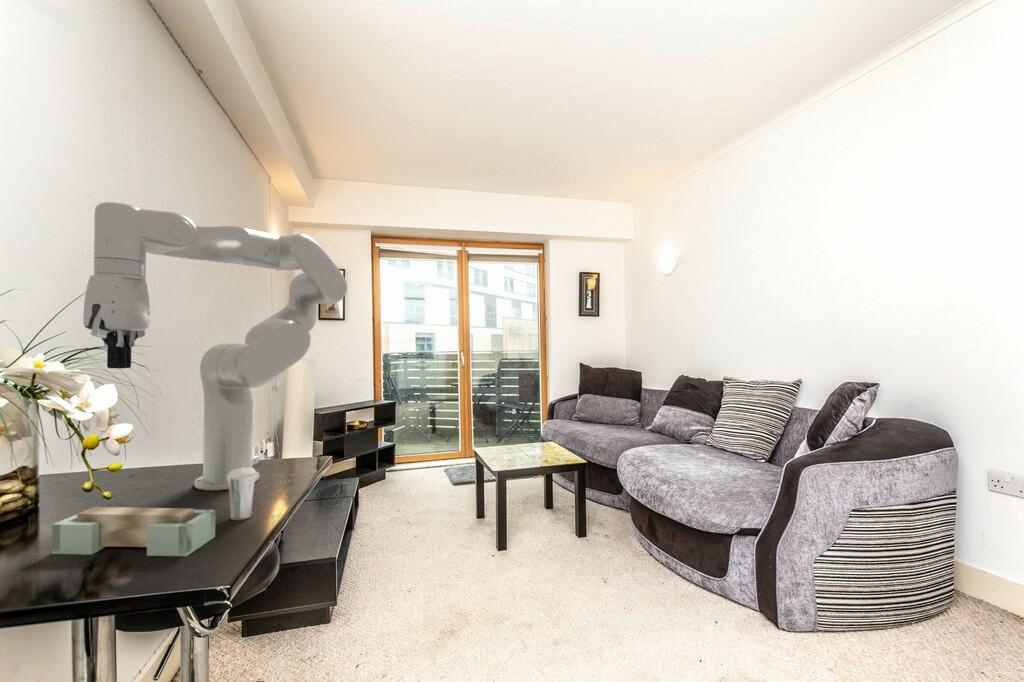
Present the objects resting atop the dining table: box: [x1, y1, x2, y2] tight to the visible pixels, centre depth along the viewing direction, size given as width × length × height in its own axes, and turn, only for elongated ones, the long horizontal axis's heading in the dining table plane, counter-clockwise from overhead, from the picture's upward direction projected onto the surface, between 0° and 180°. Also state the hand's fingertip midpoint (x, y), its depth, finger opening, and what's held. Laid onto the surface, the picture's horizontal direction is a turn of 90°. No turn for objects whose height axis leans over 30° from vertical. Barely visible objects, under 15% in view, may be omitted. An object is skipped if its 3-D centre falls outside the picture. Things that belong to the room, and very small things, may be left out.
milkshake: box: [227, 459, 257, 521], centre depth 87 cm, size 4×5×10 cm
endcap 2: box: [146, 509, 216, 557], centre depth 74 cm, size 6×7×4 cm
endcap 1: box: [51, 514, 108, 555], centre depth 74 cm, size 6×7×4 cm
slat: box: [76, 506, 194, 548], centre depth 74 cm, size 16×3×5 cm, turn 90°
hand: (119, 367), depth 88 cm, fingers closed
